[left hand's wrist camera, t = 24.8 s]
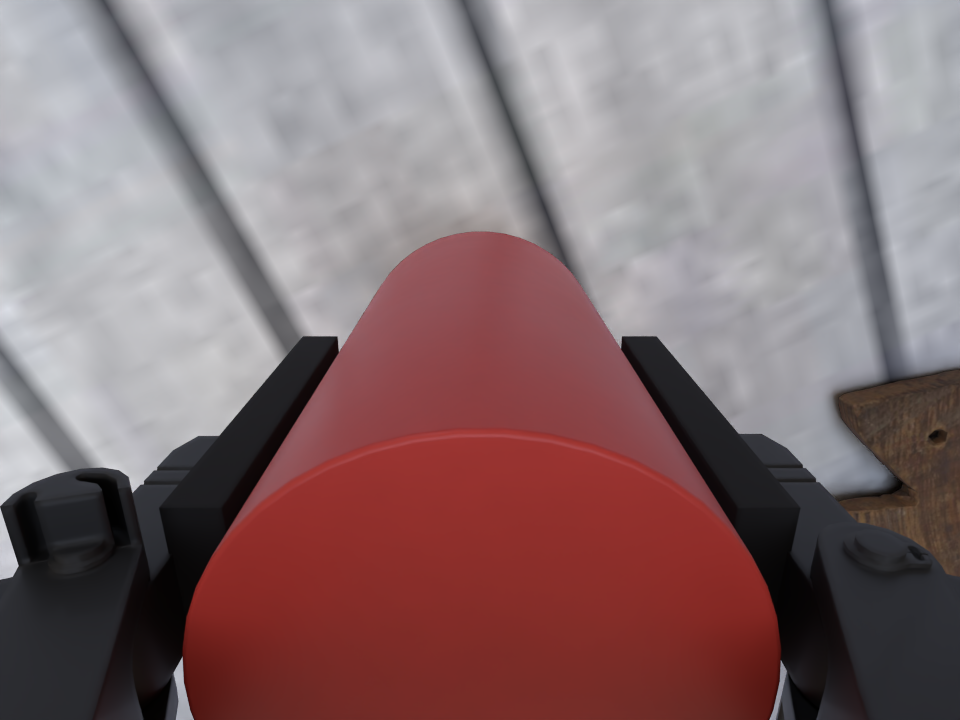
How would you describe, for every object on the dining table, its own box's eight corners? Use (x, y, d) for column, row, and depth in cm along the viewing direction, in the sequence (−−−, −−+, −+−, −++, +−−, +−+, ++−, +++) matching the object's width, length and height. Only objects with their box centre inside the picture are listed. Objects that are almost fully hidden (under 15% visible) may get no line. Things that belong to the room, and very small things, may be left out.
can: (382, 209, 16) (189, 371, 5) (622, 257, 16) (885, 495, 6) (352, 428, 18) (172, 852, 7) (564, 465, 18) (677, 916, 8)
